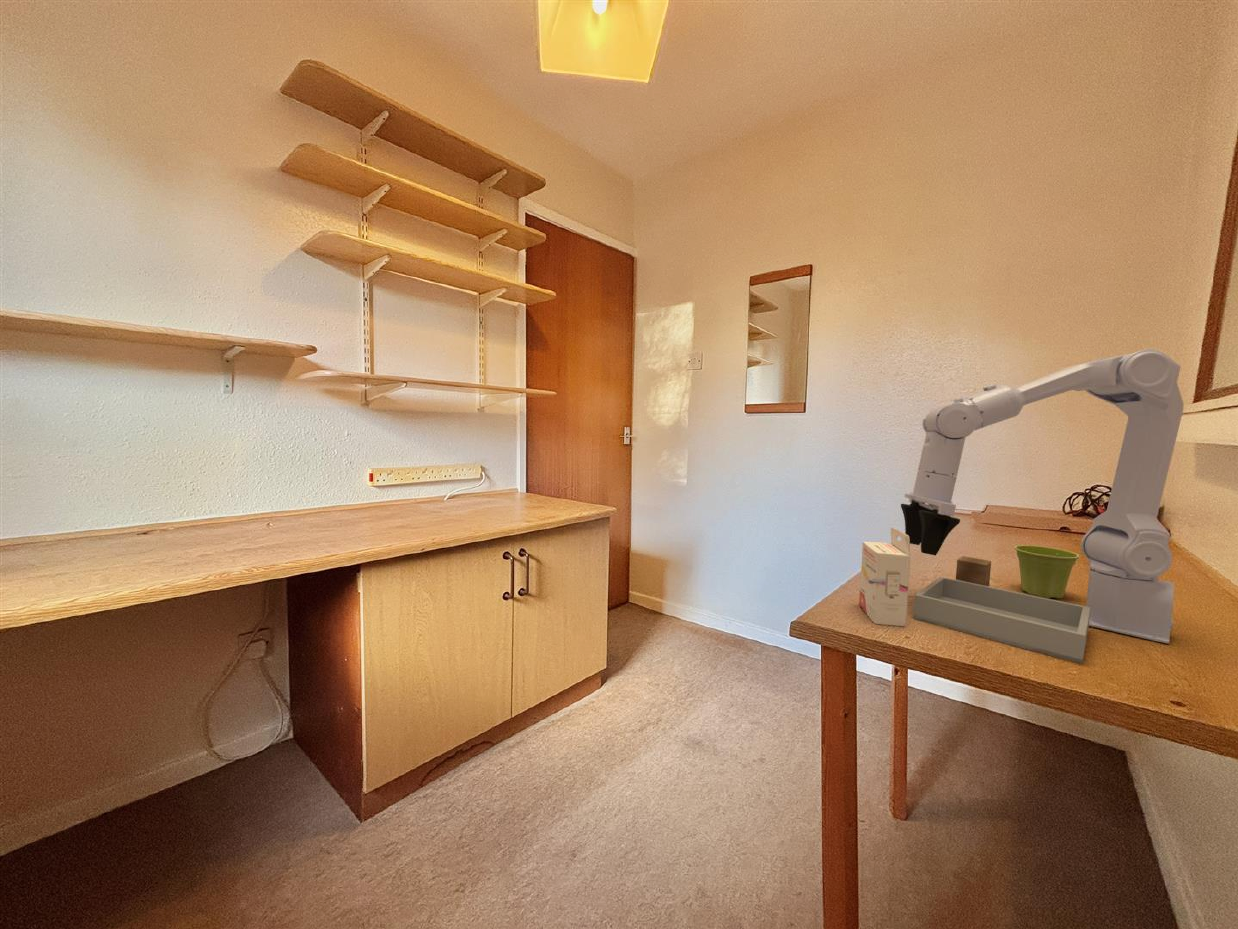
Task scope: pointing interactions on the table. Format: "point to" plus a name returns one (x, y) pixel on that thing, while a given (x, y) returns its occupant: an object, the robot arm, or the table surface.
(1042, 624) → the tray bin
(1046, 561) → the plant pot
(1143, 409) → the robot arm
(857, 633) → the table surface
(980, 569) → the walnut block
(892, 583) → the ink cartridge box
